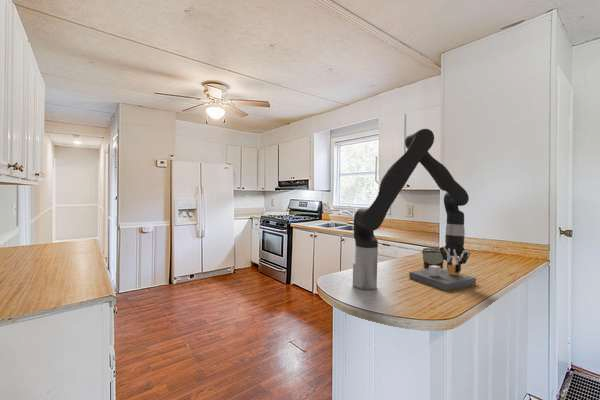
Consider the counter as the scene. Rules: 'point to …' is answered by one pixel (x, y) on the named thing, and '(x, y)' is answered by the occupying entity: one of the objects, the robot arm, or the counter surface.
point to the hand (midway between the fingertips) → (453, 271)
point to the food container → (432, 257)
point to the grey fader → (434, 270)
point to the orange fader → (452, 270)
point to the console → (443, 279)
